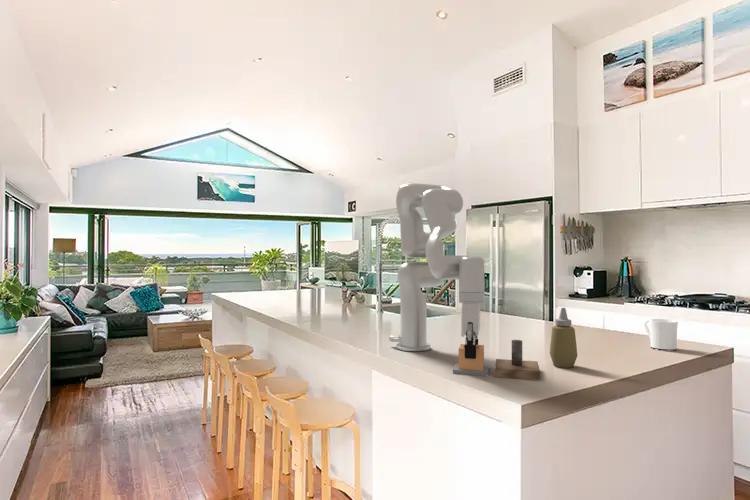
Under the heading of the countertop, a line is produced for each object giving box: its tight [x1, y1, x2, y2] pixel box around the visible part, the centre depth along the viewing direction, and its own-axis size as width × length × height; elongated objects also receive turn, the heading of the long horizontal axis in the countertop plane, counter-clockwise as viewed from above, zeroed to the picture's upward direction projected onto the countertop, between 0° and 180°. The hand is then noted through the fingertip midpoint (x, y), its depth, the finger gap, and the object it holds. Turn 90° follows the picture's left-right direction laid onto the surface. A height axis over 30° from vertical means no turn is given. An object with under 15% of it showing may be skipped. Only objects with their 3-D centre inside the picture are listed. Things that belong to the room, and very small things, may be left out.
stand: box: [494, 339, 541, 381], centre depth 140 cm, size 12×12×10 cm
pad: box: [452, 361, 491, 376], centre depth 143 cm, size 10×10×1 cm
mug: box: [643, 318, 679, 351], centre depth 175 cm, size 11×9×10 cm
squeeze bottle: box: [549, 307, 578, 369], centre depth 148 cm, size 8×8×18 cm
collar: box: [458, 343, 485, 370], centre depth 143 cm, size 7×7×6 cm
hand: (471, 354), depth 143 cm, fingers open, 9 cm apart
